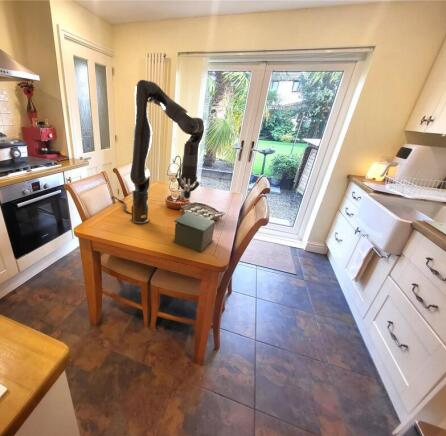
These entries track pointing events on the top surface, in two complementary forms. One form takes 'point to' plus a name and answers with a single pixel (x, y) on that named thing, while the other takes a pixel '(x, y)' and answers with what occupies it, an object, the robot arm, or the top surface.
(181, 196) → the milk bottle
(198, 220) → the bin lid
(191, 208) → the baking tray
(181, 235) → the bin
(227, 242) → the top surface
